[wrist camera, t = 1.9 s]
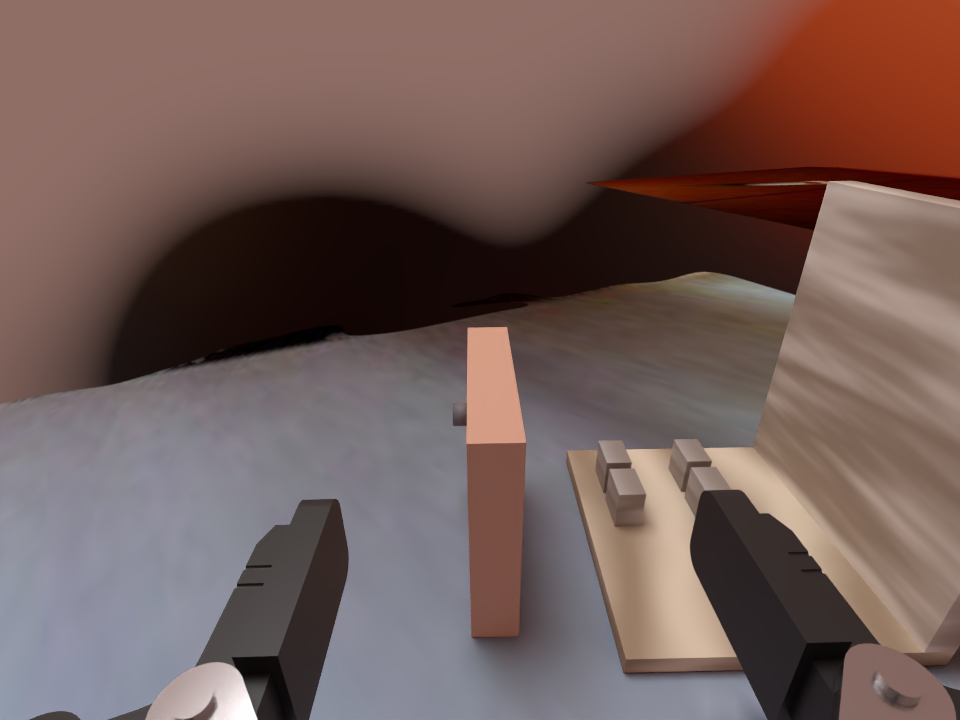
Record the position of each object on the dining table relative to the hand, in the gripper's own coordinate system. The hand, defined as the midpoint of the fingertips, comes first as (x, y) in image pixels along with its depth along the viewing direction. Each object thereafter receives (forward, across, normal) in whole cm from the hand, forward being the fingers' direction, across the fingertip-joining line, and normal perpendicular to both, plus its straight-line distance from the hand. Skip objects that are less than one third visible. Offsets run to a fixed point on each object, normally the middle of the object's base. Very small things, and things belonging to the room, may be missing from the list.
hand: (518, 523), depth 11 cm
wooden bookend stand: (+14, -14, +16) cm, 25 cm away
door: (+14, 0, +16) cm, 21 cm away
